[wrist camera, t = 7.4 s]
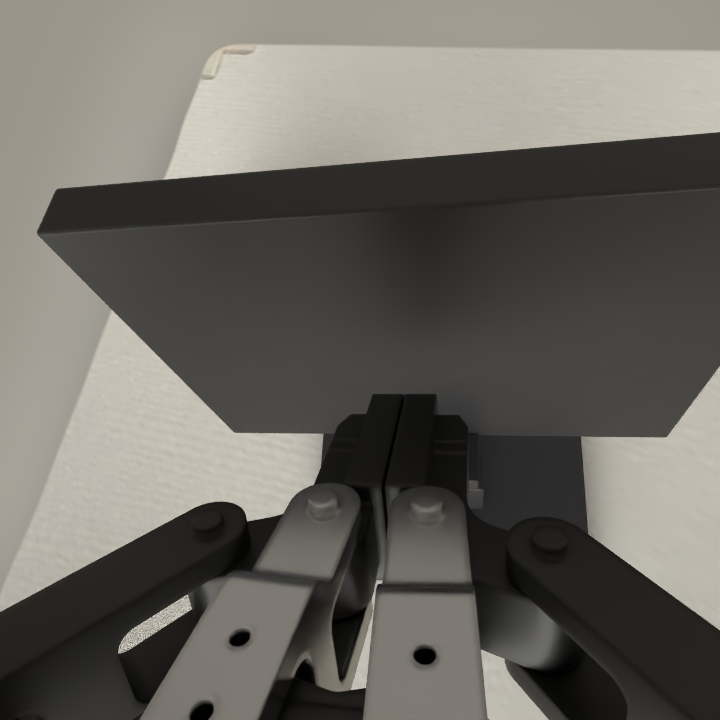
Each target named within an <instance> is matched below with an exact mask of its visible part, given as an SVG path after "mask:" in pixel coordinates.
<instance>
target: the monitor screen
mask: <svg viewBox="0 0 720 720" xmlns="http://www.w3.org/2000/svg"><path fill="white" fill-rule="evenodd" d="M37 234H38V236H39V237H40V238H41V239H42V240H43V241H44V242H45V243H46V244H47V245H48V246H49V247H50V248H51V249H52V250H53V251H54V252H55V253H56V254H57V255H58V256H59V257H60V258H61V259H62V260H63V261H64V262H65V263H66V264H67V265H68V266H69V267H70V268H71V269H72V270H73V271H74V272H75V273H76V274H77V275H78V276H79V277H80V278H81V279H82V280H83V281H84V282H85V283H86V284H87V285H88V286H89V287H90V288H91V289H92V290H93V291H94V292H95V293H96V294H97V295H98V296H99V297H100V298H101V299H102V300H103V301H104V302H105V303H106V304H107V305H108V306H109V307H110V308H111V309H112V310H113V311H114V312H115V313H116V314H117V315H118V316H119V317H120V318H121V319H122V320H123V321H124V322H125V323H126V324H127V325H128V326H129V327H130V328H131V329H132V330H133V331H134V332H135V333H136V334H137V335H138V336H139V337H140V338H141V339H142V340H143V341H144V342H145V343H146V344H147V345H148V346H149V347H150V348H151V349H152V350H153V351H154V352H155V353H156V354H157V355H158V356H159V357H160V358H161V359H162V360H163V361H164V362H165V363H166V364H167V365H168V366H169V367H170V368H171V369H172V370H173V371H174V372H175V373H176V374H177V375H178V376H179V377H180V378H181V379H182V380H183V381H184V382H185V383H186V384H187V385H188V386H189V387H190V388H191V389H192V390H193V391H194V392H195V393H196V395H197V396H198V397H199V398H200V399H201V400H202V401H203V402H204V403H205V404H206V405H207V406H208V407H209V408H210V409H211V410H212V411H213V412H214V413H215V414H216V415H217V416H218V417H219V418H220V419H221V420H222V421H223V422H224V423H225V424H226V425H227V426H228V427H229V428H230V429H231V430H232V431H233V432H235V433H316V434H335V431H336V429H337V426H338V425H339V424H340V423H341V422H342V421H344V420H345V419H346V418H347V417H348V416H349V415H351V414H366V413H367V410H368V407H369V404H370V401H371V398H372V395H373V394H404V396H405V395H406V394H437V400H438V415H459V416H460V417H461V418H462V420H463V421H464V422H465V424H466V425H467V426H468V450H469V489H478V488H479V461H478V435H498V436H588V437H667V436H668V435H669V433H670V432H671V431H672V429H673V428H674V427H675V425H676V424H677V423H678V421H679V420H680V419H681V417H682V416H683V414H684V413H685V412H686V410H687V409H688V408H689V406H690V405H691V404H692V402H693V401H694V400H695V398H696V397H697V396H698V394H699V393H700V392H701V390H702V389H703V388H704V386H705V385H706V384H707V382H708V381H709V380H710V378H711V377H712V376H713V374H714V373H715V372H716V370H717V369H718V368H719V366H720V132H718V133H706V134H694V135H683V136H671V137H659V138H648V139H636V140H624V141H612V142H601V143H589V144H577V145H565V146H554V147H542V148H530V149H519V150H507V151H495V152H483V153H472V154H460V155H448V156H436V157H425V158H413V159H401V160H390V161H378V162H366V163H354V164H343V165H331V166H319V167H307V168H296V169H284V170H272V171H261V172H249V173H237V174H225V175H214V176H202V177H190V178H178V179H167V180H155V181H143V182H132V183H121V184H108V185H97V186H85V187H73V188H62V189H57V190H56V191H55V193H54V195H53V198H52V200H51V202H50V204H49V206H48V209H47V211H46V213H45V215H44V217H43V220H42V222H41V224H40V226H39V228H38V231H37Z"/></svg>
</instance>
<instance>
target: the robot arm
mask: <svg viewBox="0 0 720 720" xmlns="http://www.w3.org/2000/svg"><path fill="white" fill-rule="evenodd" d="M376 580H383V583H382V584H378V585H377V589H376V596H375V605H374V615H373V625H372V635H371V645H370V655H369V665H368V675H367V685H366V688H363V689H356V690H351V686H352V683H353V679H354V676H355V672H356V669H357V665H358V662H359V658H360V655H361V652H362V648H363V645H364V641H365V638H366V634H367V631H368V627H369V624H370V620H371V617H372V612H373V606H372V596H373V592H374V587H375V582H376ZM187 594H188V596H189V600H190V603H191V606H192V610H190V611H189V612H187V613H186V614H184V615H183V616H181V617H179V618H178V619H176V620H175V621H173V622H172V623H170V624H169V625H167V626H166V627H164V628H162V629H161V630H159V631H158V632H156V633H155V634H153V635H152V636H150V637H149V638H147V639H145V640H144V641H142V642H141V643H139V644H138V645H136V646H135V647H133V648H132V649H130V650H128V651H126V652H124V653H121V654H118V649H119V645H120V643H121V641H122V639H123V638H124V636H125V635H126V634H127V633H128V632H129V631H130V630H131V629H133V628H134V627H136V626H137V625H139V624H141V623H142V622H144V621H145V620H147V619H149V618H150V617H152V616H153V615H155V614H157V613H158V612H160V611H161V610H163V609H164V608H166V607H168V606H169V605H171V604H172V603H174V602H176V601H177V600H179V599H180V598H182V597H184V596H185V595H187ZM481 649H482V650H484V651H487V652H489V653H492V654H494V655H497V656H499V657H502V658H504V659H505V664H506V667H507V669H508V671H509V673H510V675H511V676H512V677H513V679H514V680H515V681H516V682H517V683H518V685H519V686H520V687H521V688H522V689H523V690H524V691H525V693H526V694H527V695H528V696H529V697H530V698H531V699H532V701H533V702H534V703H535V704H536V705H537V706H538V708H539V709H540V710H541V711H542V712H543V713H544V714H545V716H546V717H547V718H548V719H549V720H720V630H718V629H717V628H716V627H714V626H713V625H712V624H710V623H709V622H707V621H706V620H705V619H703V618H702V617H701V616H699V615H698V614H696V613H695V612H694V611H692V610H691V609H690V608H688V607H687V606H686V605H684V604H683V603H681V602H680V601H679V600H677V599H676V598H675V597H673V596H672V595H670V594H669V593H668V592H666V591H665V590H664V589H662V588H661V587H660V586H658V585H657V584H655V583H654V582H653V581H651V580H650V579H649V578H647V577H646V576H644V575H643V574H642V573H640V572H639V571H638V570H636V569H635V568H634V567H632V566H631V565H629V564H628V563H627V562H625V561H624V560H623V559H621V558H620V557H619V556H617V555H616V554H614V553H613V552H612V551H610V550H609V549H608V548H606V547H605V546H603V545H602V544H601V543H599V542H598V541H597V540H595V539H594V538H593V537H591V536H590V535H588V534H587V533H586V532H584V531H583V530H582V529H580V528H579V527H577V526H575V525H574V524H572V523H570V522H567V521H564V520H562V519H557V518H553V517H532V518H528V519H525V520H522V521H520V522H518V523H516V524H515V525H514V526H513V527H512V528H511V529H510V530H509V531H508V530H505V529H501V528H498V527H495V526H492V525H490V524H488V523H486V522H484V521H483V520H481V519H479V518H478V517H477V516H476V515H475V514H474V513H473V512H472V511H471V509H470V508H469V450H468V426H467V425H466V424H465V422H464V421H463V420H462V418H461V417H460V416H459V415H438V400H437V394H406V395H405V396H404V394H373V395H372V398H371V401H370V404H369V407H368V410H367V413H366V414H351V415H349V416H348V417H347V418H346V419H345V420H344V421H342V422H341V423H340V424H339V425H338V426H337V429H336V431H335V434H334V436H333V441H331V444H330V446H329V449H328V452H327V454H326V456H325V459H324V461H323V464H322V466H321V469H320V471H319V474H318V476H317V479H316V481H315V483H314V485H313V486H310V487H308V488H305V489H303V490H302V491H300V492H299V493H297V494H296V495H295V496H294V497H293V498H292V500H291V501H290V503H289V505H288V506H287V508H286V510H285V512H284V514H282V515H279V516H274V517H270V518H264V519H259V520H254V521H248V522H247V519H246V515H245V512H244V510H243V509H242V508H241V507H239V506H238V505H236V504H233V503H229V502H212V503H207V504H204V505H201V506H198V507H196V508H194V509H192V510H190V511H188V512H186V513H184V514H182V515H180V516H178V517H177V518H175V519H173V520H171V521H169V522H167V523H165V524H164V525H162V526H160V527H158V528H156V529H154V530H152V531H151V532H149V533H147V534H145V535H143V536H141V537H139V538H137V539H136V540H134V541H132V542H130V543H128V544H126V545H124V546H123V547H121V548H119V549H117V550H115V551H113V552H111V553H110V554H108V555H106V556H104V557H102V558H100V559H98V560H96V561H95V562H93V563H91V564H89V565H87V566H85V567H83V568H82V569H80V570H78V571H76V572H74V573H72V574H70V575H69V576H67V577H65V578H63V579H61V580H59V581H57V582H55V583H54V584H52V585H50V586H48V587H46V588H44V589H42V590H41V591H39V592H37V593H35V594H33V595H31V596H29V597H28V598H26V599H24V600H22V601H20V602H18V603H16V604H14V605H13V606H11V607H9V608H7V609H5V610H3V611H1V612H0V720H489V719H487V710H486V699H485V689H484V679H483V668H482V658H481Z"/></svg>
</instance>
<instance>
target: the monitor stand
mask: <svg viewBox="0 0 720 720" xmlns="http://www.w3.org/2000/svg"><path fill="white" fill-rule="evenodd" d="M333 436H334V434H324V436H323V449H322V462H321V466H322V464H323V461H324V459H325V456H326V454H327V452H328V449H329V446H330V444H331V441H333ZM478 461H479V488H478V489H469V508H470V509H471V511H472V512H473V513H474V514H475V515H476V516H477V517H478V518H479V519H481V520H483V521H484V522H486V523H488V524H490V525H492V526H495V527H498V528H501V529H505V530H508V531H509V530H510V529H511V528H512V527H513V526H514V525H515V524H516V523H518V522H520V521H522V520H525V519H528V518H532V517H553V518H557V519H562V520H564V521H567V522H570V523H572V524H574V525H575V526H577V527H579V528H580V529H582V530H583V531H584V532H586V533H587V534H588V527H587V514H586V500H585V487H584V474H583V460H582V447H581V436H498V435H478Z"/></svg>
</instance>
